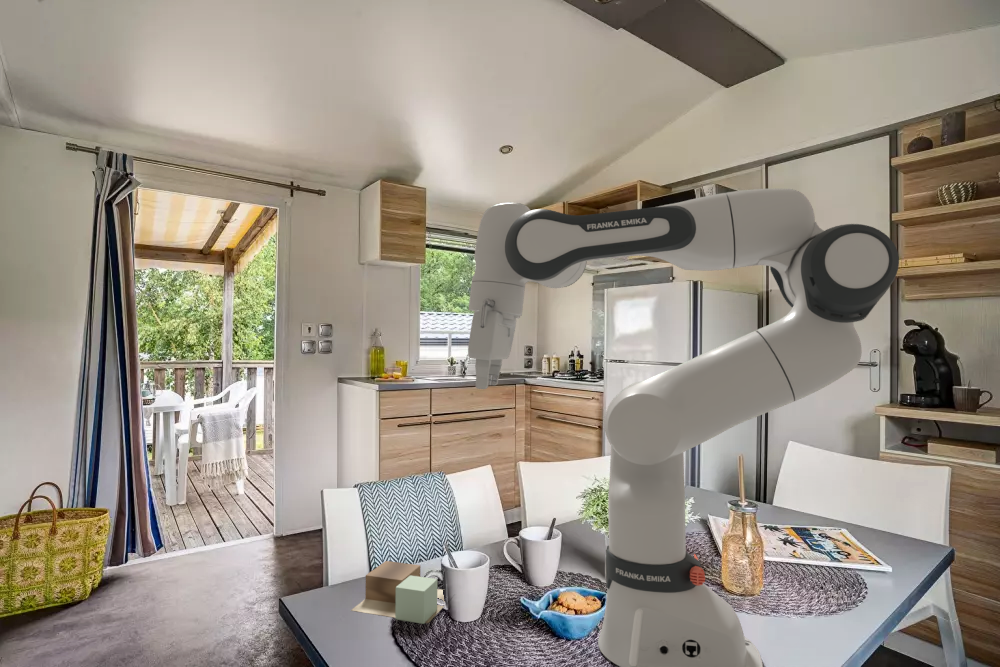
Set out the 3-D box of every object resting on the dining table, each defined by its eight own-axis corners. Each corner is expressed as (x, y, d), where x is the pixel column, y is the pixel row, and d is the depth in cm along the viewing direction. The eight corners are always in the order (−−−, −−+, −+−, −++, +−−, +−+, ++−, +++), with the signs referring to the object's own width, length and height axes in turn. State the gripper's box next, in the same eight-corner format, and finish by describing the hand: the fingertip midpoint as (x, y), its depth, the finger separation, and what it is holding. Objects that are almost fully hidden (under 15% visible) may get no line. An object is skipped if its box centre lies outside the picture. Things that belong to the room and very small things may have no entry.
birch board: (457, 597, 98) (457, 591, 98) (428, 629, 87) (428, 622, 87) (387, 587, 102) (387, 581, 102) (350, 616, 91) (350, 610, 91)
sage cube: (437, 609, 91) (437, 579, 91) (424, 623, 86) (424, 591, 87) (409, 605, 93) (410, 575, 93) (395, 619, 88) (395, 587, 88)
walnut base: (420, 587, 100) (420, 565, 100) (401, 604, 93) (402, 580, 93) (385, 582, 102) (386, 560, 102) (365, 598, 95) (365, 575, 95)
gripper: (506, 298, 80) (495, 393, 80) (522, 309, 100) (513, 385, 100) (463, 294, 81) (453, 388, 81) (488, 306, 101) (479, 381, 101)
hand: (486, 386), depth 90 cm, fingers open, 8 cm apart
